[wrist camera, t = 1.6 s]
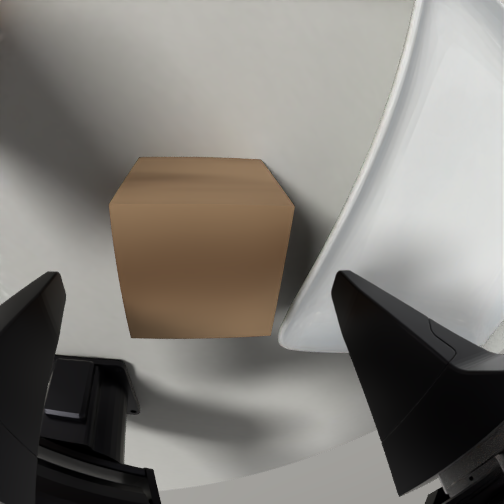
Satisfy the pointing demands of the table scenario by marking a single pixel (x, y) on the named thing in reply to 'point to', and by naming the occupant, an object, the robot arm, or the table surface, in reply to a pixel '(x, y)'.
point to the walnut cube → (200, 247)
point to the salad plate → (426, 187)
